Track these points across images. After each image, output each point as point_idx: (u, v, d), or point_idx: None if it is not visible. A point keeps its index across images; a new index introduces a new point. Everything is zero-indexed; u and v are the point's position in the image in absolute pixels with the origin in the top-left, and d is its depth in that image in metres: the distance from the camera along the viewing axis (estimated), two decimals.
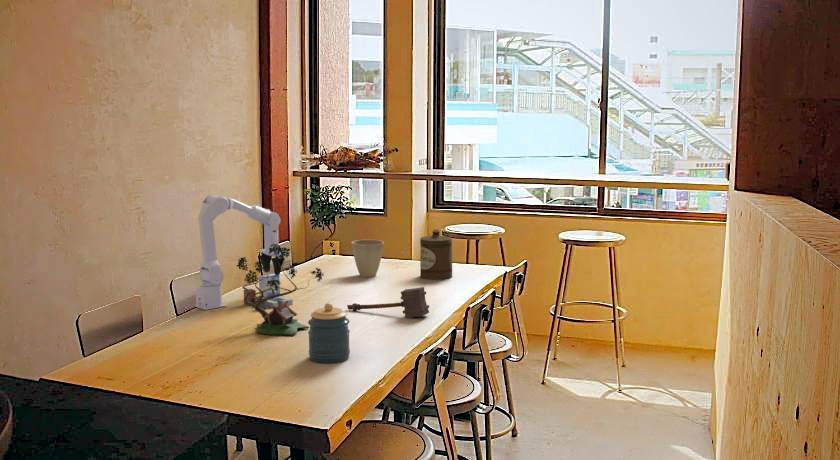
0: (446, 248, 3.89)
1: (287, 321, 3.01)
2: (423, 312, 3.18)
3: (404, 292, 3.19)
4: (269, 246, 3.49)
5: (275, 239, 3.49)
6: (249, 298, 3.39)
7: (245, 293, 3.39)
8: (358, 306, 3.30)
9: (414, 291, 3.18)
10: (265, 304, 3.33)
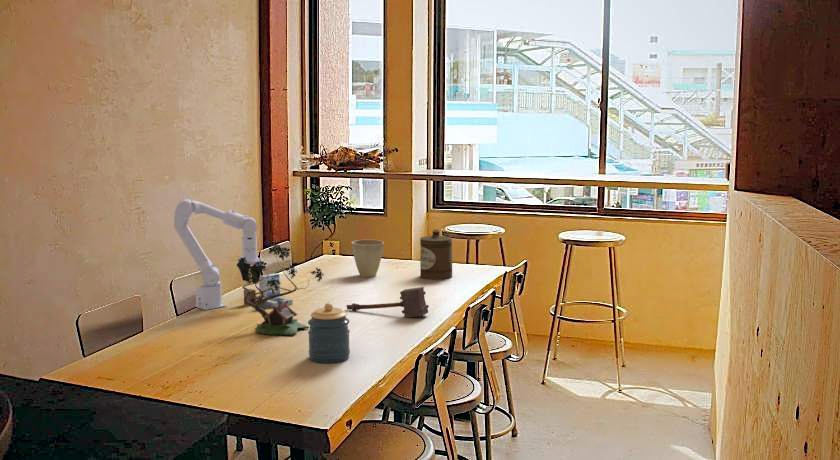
0: (446, 248, 3.89)
1: (287, 321, 3.01)
2: (422, 312, 3.18)
3: (403, 292, 3.20)
4: (247, 254, 3.35)
5: (250, 247, 3.35)
6: (249, 298, 3.39)
7: (245, 293, 3.39)
8: (357, 306, 3.30)
9: (413, 291, 3.18)
10: (265, 304, 3.33)
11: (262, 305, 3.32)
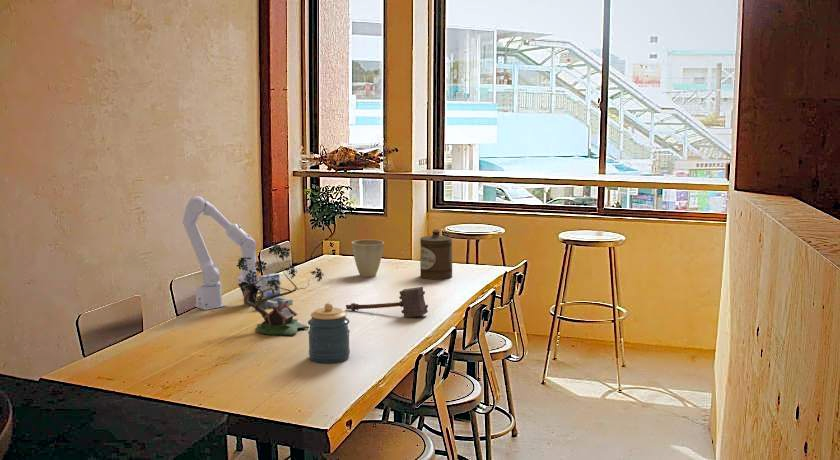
0: (446, 248, 3.89)
1: (287, 321, 3.01)
2: (422, 312, 3.19)
3: (403, 292, 3.20)
4: (246, 273, 3.36)
5: (249, 266, 3.36)
6: None
7: (245, 293, 3.39)
8: (357, 306, 3.30)
9: (413, 291, 3.18)
10: (265, 304, 3.33)
11: (262, 305, 3.32)
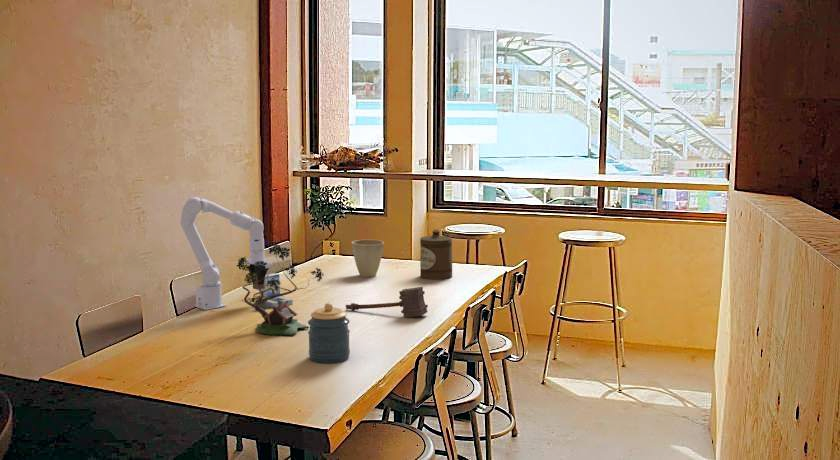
0: (446, 248, 3.89)
1: (287, 321, 3.01)
2: (422, 312, 3.19)
3: (403, 292, 3.20)
4: (254, 256, 3.35)
5: (257, 249, 3.35)
6: None
7: (254, 277, 3.39)
8: (356, 306, 3.30)
9: (413, 291, 3.18)
10: (265, 304, 3.33)
11: (262, 305, 3.32)
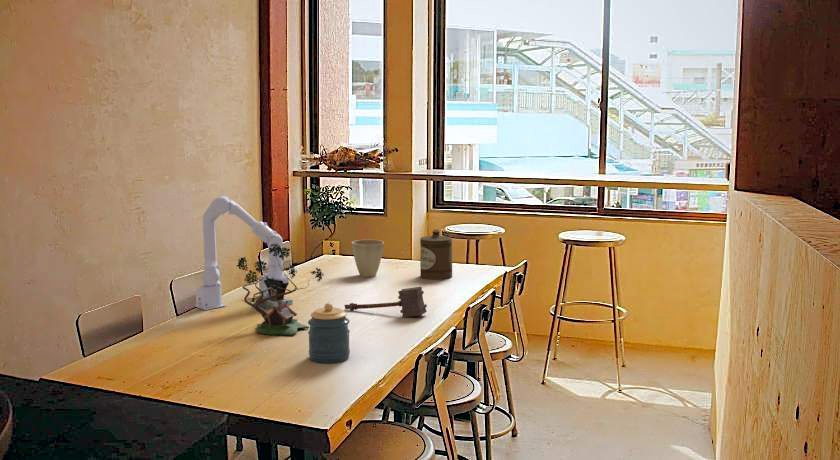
0: (446, 248, 3.89)
1: (287, 321, 3.01)
2: (421, 311, 3.19)
3: (402, 292, 3.20)
4: (273, 270, 3.37)
5: (276, 263, 3.36)
6: (276, 298, 3.39)
7: (272, 293, 3.40)
8: (355, 306, 3.30)
9: (412, 291, 3.19)
10: (265, 304, 3.33)
11: (262, 305, 3.32)
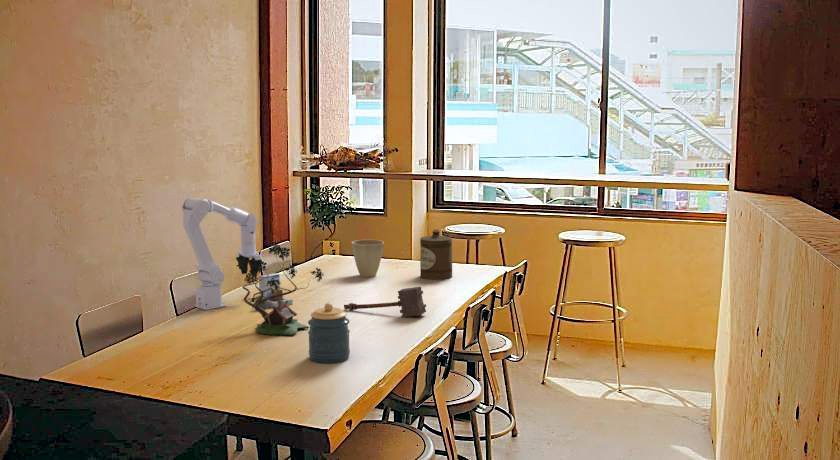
0: (446, 248, 3.89)
1: (287, 321, 3.01)
2: (420, 311, 3.19)
3: (401, 291, 3.20)
4: (246, 248, 3.46)
5: (253, 240, 3.47)
6: (276, 298, 3.39)
7: (272, 293, 3.40)
8: (355, 306, 3.30)
9: (411, 290, 3.19)
10: (265, 304, 3.33)
11: (262, 305, 3.32)
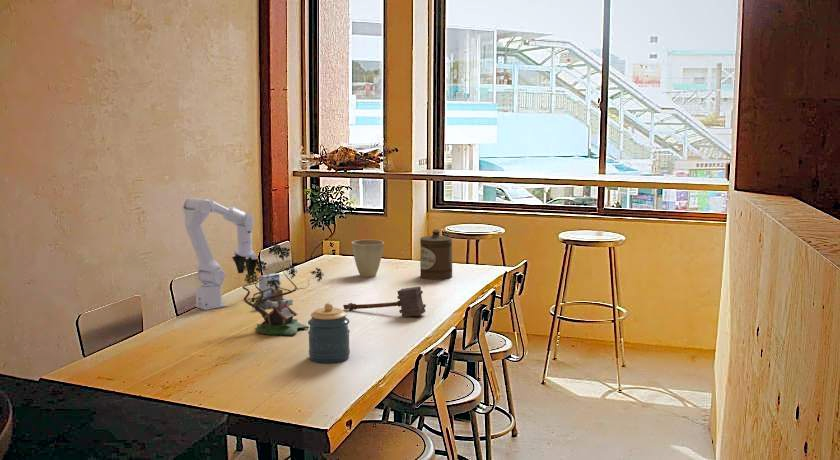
0: (446, 248, 3.89)
1: (287, 321, 3.01)
2: (420, 311, 3.19)
3: (401, 291, 3.21)
4: (242, 247, 3.47)
5: (250, 240, 3.48)
6: (276, 298, 3.39)
7: (272, 293, 3.40)
8: (354, 306, 3.30)
9: (411, 290, 3.19)
10: (265, 304, 3.33)
11: (262, 305, 3.32)
